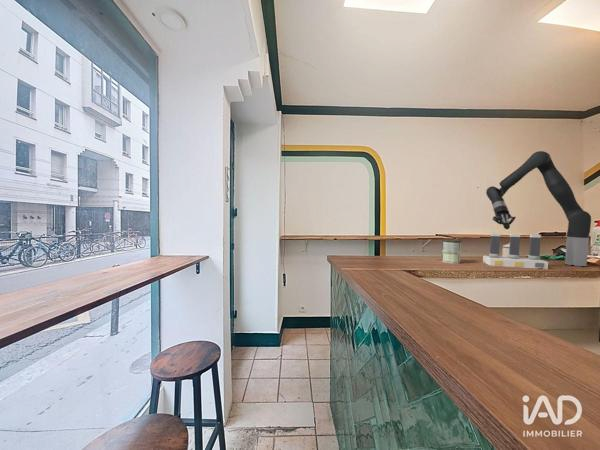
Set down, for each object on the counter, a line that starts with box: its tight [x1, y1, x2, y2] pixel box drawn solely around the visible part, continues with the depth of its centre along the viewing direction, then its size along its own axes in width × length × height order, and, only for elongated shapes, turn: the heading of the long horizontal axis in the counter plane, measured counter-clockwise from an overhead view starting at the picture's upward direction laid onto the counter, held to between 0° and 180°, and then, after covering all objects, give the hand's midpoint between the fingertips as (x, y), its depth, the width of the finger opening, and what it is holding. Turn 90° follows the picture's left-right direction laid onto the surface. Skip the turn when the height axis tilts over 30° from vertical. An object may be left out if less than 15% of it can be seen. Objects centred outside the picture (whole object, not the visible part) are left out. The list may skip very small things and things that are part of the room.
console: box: [482, 255, 549, 270], centre depth 161 cm, size 28×12×4 cm, turn 73°
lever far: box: [488, 232, 502, 258], centre depth 164 cm, size 5×2×15 cm, turn 73°
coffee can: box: [441, 238, 462, 264], centre depth 170 cm, size 10×10×14 cm
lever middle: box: [508, 233, 521, 259], centre depth 161 cm, size 5×2×15 cm, turn 73°
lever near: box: [527, 233, 542, 260], centre depth 158 cm, size 5×2×15 cm, turn 73°
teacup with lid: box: [501, 241, 510, 257], centre depth 181 cm, size 12×9×12 cm
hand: (507, 228), depth 170 cm, fingers closed
